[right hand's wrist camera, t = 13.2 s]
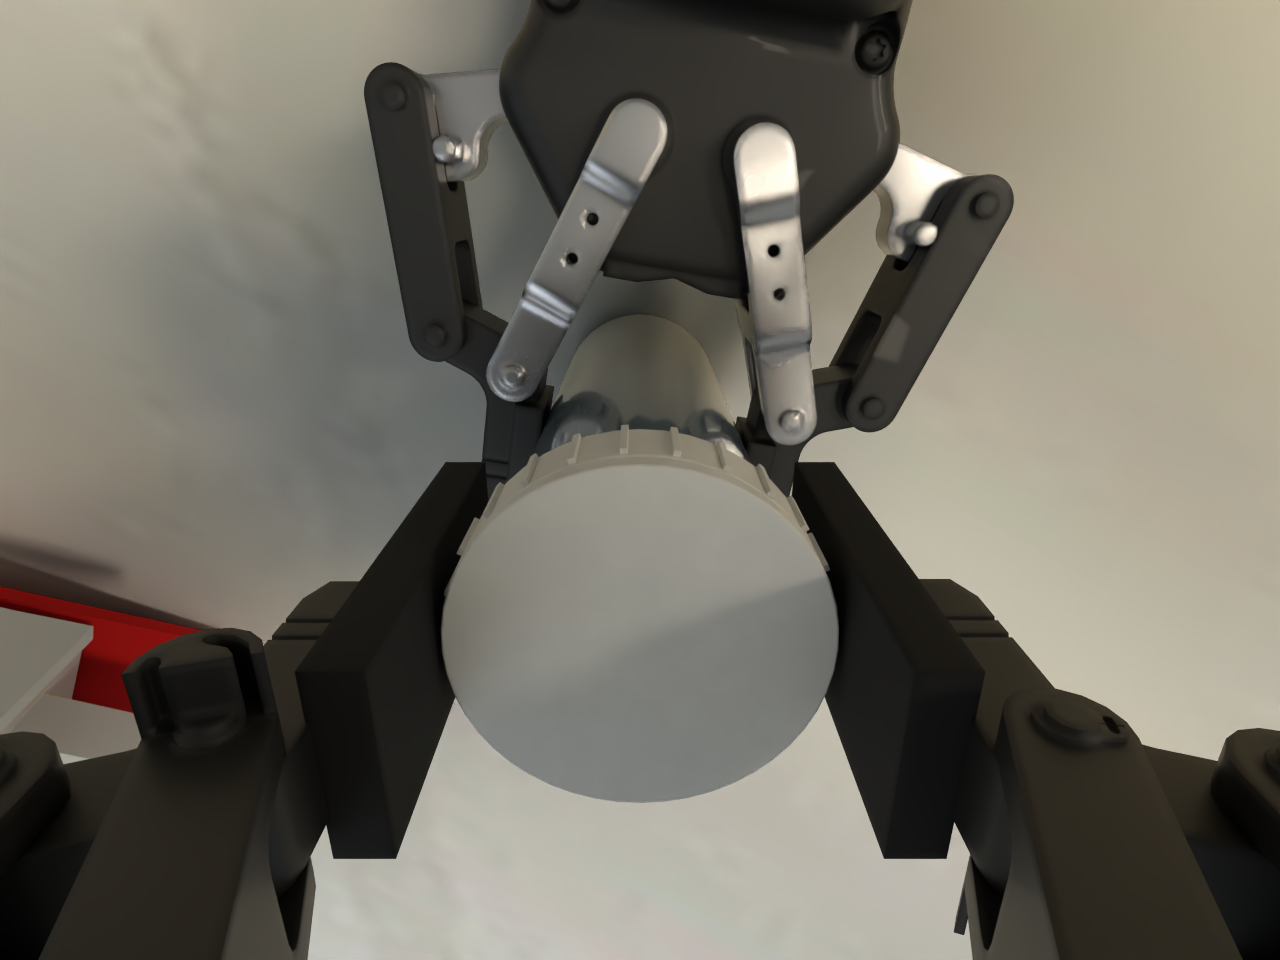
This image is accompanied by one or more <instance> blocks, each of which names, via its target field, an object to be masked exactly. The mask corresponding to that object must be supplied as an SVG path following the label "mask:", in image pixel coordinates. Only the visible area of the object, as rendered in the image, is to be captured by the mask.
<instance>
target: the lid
mask: <svg viewBox="0 0 1280 960" xmlns="http://www.w3.org/2000/svg"><path fill="white" fill-rule="evenodd" d="M808 530H809V528H808V526H807V524H806V522H805V520H804V518H803V516H802V514H801V512H800V510H799V508H798V506H797V504H796V502H795V500H794V498H793V497H792V496H789V497H788V498H786V496H785V495H784V494H783V493H782V492H781V491H780V490H779V489H778V487H777V486H776V485H775V484H774V483H773V482H772V481H771V480H770V479H769V477H768V475H767V473H766V470H765V468H764V467H763V466H762V465H761V464H758V465H757V466H756V467H755V466H754V465H752V464H751V463H749V462H747V461H746V460H744V459H743V458H741V457H740V456H738V455H737V454H735V453H733V452H731V451H729V450H727V449H726V446H725V443H724V442H722V441H720V440H718V441H717V443H716V444H714V443H712V442H709V441H706V440H702V439H699V438H696V437H693V436H690V435H686V434H680V433H679V432H678V428H676V427H671V429H670V432H669V431H664V430H646V429H632V430H629V426H628V425H621V430H618V431H610V432H605V433H600V434H595V435H590V436H586V437H583V438H581V435H580V434H576V435H573V438H572V442H569V443H566V444H563V445H561V446H559V447H557V448H555V449H553V450H551V451H549V452H547V453H545V454H543V455H542V456H540V457H538V455H537V454H536V453H535V454H533V455H532V456H531V457H530V459H529V461H528V464H527V466H525V467H524V468H523V469H521V470H520V471H519V472H518V473H517V474H516V475H515V476H513V477H512V478H511V479H510V480H509V481H508V482H507V483H506V484H505V485H503V484H502V483H501V482H500V483H499V484H498V485H497V486H496V488H495V490H494V492H493V494H492V496H491V498H490V500H489V502H488V504H487V506H486V508H485V510H484V512H483V514H482V516H481V518H480V519H477V518H474V520H473V522H472V524H471V526H470V528H469V530H468V532H467V534H466V536H465V538H464V540H463V541H462V543H461V545H460V547H459V549H458V551H457V554H458V555H460V556H461V558H460V560H459V562H458V564H457V566H456V568H455V570H454V572H453V574H452V577H451V579H450V581H449V583H448V585H447V587H446V589H445V591H444V596H445V601H444V605H443V611H442V621H441V645H442V654H443V659H444V664H445V669H446V673H447V676H448V679H449V682H450V684H451V687H452V690H453V692H454V695H455V697H456V699H457V700H458V702H459V704H460V706H461V708H462V710H463V712H464V713H465V715H466V716H467V718H468V719H469V720H470V722H471V723H472V724H473V726H474V727H475V729H476V730H477V731H478V732H479V733H480V734H481V736H482V737H483V738H484V739H485V740H486V741H487V742H488V743H489V744H490V745H491V746H492V747H493V748H494V749H495V750H496V751H498V752H499V753H500V754H501V755H503V756H504V757H505V758H506V759H507V760H509V761H510V762H511V763H513V764H514V765H516V766H517V767H519V768H521V769H522V770H524V771H525V772H527V773H528V774H530V775H532V776H534V777H536V778H538V779H540V780H542V781H544V782H546V783H548V784H550V785H553V786H556V787H558V788H561V789H564V790H567V791H569V792H572V793H576V794H580V795H584V796H588V797H592V798H596V799H603V800H610V801H617V802H637V803H645V802H662V801H670V800H677V799H683V798H689V797H693V796H696V795H700V794H704V793H708V792H711V791H714V790H716V789H719V788H722V787H724V786H727V785H730V784H732V783H734V782H736V781H738V780H740V779H742V778H744V777H746V776H748V775H750V774H752V773H754V772H755V771H757V770H758V769H760V768H761V767H763V766H764V765H766V764H767V763H769V762H770V761H772V760H773V759H774V758H775V757H776V756H778V755H779V754H780V753H781V752H782V751H783V750H785V749H786V748H787V747H788V746H789V745H790V744H791V743H792V742H793V741H794V740H795V739H796V738H797V737H798V735H799V734H800V733H801V732H802V731H803V730H804V729H805V727H806V726H807V725H808V723H809V722H810V720H811V719H812V717H813V716H814V715H815V713H816V712H817V710H818V708H819V706H820V704H821V702H822V700H823V698H824V696H825V695H826V693H827V690H828V687H829V684H830V681H831V679H832V676H833V673H834V670H835V664H836V659H837V653H838V647H839V621H838V610H837V605H836V601H835V597H834V594H833V590H832V587H831V583H830V580H829V578H828V576H827V574H826V572H827V571H829V570H830V568H829V566H828V563H827V561H826V559H825V557H824V555H823V553H822V551H821V550H820V548H819V546H818V544H817V542H816V540H815V538H814V536H813V534H812V533H809V534H807V532H806V531H808Z"/></svg>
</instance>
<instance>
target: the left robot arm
mask: <svg viewBox="0 0 1280 960" xmlns="http://www.w3.org/2000/svg"><path fill="white" fill-rule="evenodd" d="M911 4H912V0H532V1H531V6H530V9H529V12H528V15H527V18H526V20H525V23H524V25H523V27H522V29H521V31H520V33H519V35H518V36H517V38H516V39H515V41H514V42H513V44H512V45H511V47H510V48H509V50H508V51H507V53H506V55H505V58H504V60H503V63H502V66H501V69H492V70H480V71H467V72H455V73H443V74H430V75H421V74H418V73H417V72H415V71H413V70H411V69H409V68H407V67H405V66H403V65H401V64H398V63H392V62H390V63H384V64H381V65H379V66H377V67H376V68H374V69H373V70H372V71H371V72H370V74H369V75H368V77H367V80H366V82H365V87H364V97H365V103H366V109H367V114H368V119H369V125H370V130H371V135H372V141H373V146H374V151H375V157H376V162H377V167H378V173H379V178H380V184H381V189H382V194H383V200H384V205H385V210H386V216H387V221H388V226H389V232H390V237H391V243H392V248H393V253H394V259H395V264H396V269H397V275H398V280H399V285H400V291H401V296H402V301H403V307H404V312H405V318H406V323H407V328H408V334H409V338H410V342H411V344H412V346H413V348H414V349H415V350H416V352H417V353H418V354H419V355H421V356H422V357H424V358H425V359H428V360H430V361H435V362H442V361H446V362H448V363H449V364H451V365H453V366H455V367H457V368H459V369H461V370H463V371H465V372H466V373H468V374H470V375H471V376H473V377H474V378H475V379H476V380H477V381H478V382H479V383H480V385H481V386H482V388H483V390H484V392H485V395H486V400H487V410H486V421H485V432H484V443H483V454H482V457H483V458H482V462H485V465H486V477H487V489H488V501H489V500H490V498H491V496H492V494H493V492H494V490H495V488H496V486H497V485H498V484H499V483H500V482H501V483H502V484H503V485H505V484H506V483H507V482H508V481H509V480H510V479H511V478H512V477H513V476H515V475H516V474H517V473H518V472H519V471H520V470H521V469H523V468H524V467H525V466H527V464H528V461H529V459H530V457H531V456H532V455H533V453H534V450H535V448H536V445H537V443H538V440H539V438H540V436H541V433H542V431H543V428H544V426H545V423H546V421H547V419H548V416H549V414H550V411H551V406H552V398H553V390H554V386H549V385H546V379H547V371H548V366H549V364H550V362H551V360H552V358H553V356H554V354H555V352H556V351H557V349H558V347H559V345H560V343H561V341H562V339H563V337H564V336H565V334H566V332H567V330H568V328H569V326H570V324H571V322H572V321H573V319H574V317H575V315H576V313H577V311H578V309H579V307H580V305H581V304H582V302H583V300H584V298H585V296H586V294H587V292H588V290H589V289H590V287H591V285H592V283H593V281H594V279H595V277H596V275H597V274H598V272H599V270H601V271H603V272H604V273H603V276H605V277H611V278H617V279H623V280H629V281H635V282H642V281H651V280H661V279H677V280H679V281H681V282H683V283H686V284H688V285H690V286H692V287H694V288H696V289H698V290H700V291H703V292H705V293H707V294H711V295H717V296H723V297H729V298H735V303H736V310H737V317H738V322H739V327H740V330H741V334H742V339H743V345H744V352H745V359H746V366H747V373H748V380H749V387H750V394H751V403H750V407H749V411H748V416H747V418H744V417H737V421H736V427H737V430H738V432H739V435H740V437H741V440H742V442H743V445H744V447H745V449H746V452H747V454H748V457H749V459H750V462H751V464H752V465H754V466H755V467H756V466H757V465H758V464H761V465H762V466H763V467H764V468H765V470H766V473H767V475H768V477H769V479H770V480H771V481H772V482H773V483H774V484H775V485H776V486H777V487H778V489H779V490H780V491H781V492H782V493H783V494H784V495H785V496H786V498H788V497H789V495H790V491H791V487H792V483H793V477H794V465H795V462H798V460H799V456H800V453H801V451H802V449H803V448H804V446H805V445H806V444H807V443H808V442H809V441H810V440H811V439H812V438H813V437H815V436H817V435H819V434H821V433H824V432H828V431H833V430H839V429H845V428H850V427H855V428H856V429H858V430H860V431H863V432H876V431H879V430H882V429H883V428H885V427H887V426H888V425H889V424H890V423H891V422H892V421H893V419H894V418H895V416H896V415H897V413H898V411H899V409H900V407H901V406H902V404H903V402H904V400H905V399H906V397H907V395H908V393H909V392H910V390H911V388H912V386H913V385H914V383H915V381H916V379H917V378H918V376H919V374H920V372H921V371H922V369H923V367H924V365H925V364H926V362H927V360H928V358H929V357H930V355H931V353H932V351H933V350H934V348H935V346H936V344H937V343H938V341H939V339H940V337H941V336H942V334H943V332H944V330H945V329H946V327H947V325H948V323H949V321H950V320H951V318H952V316H953V314H954V313H955V311H956V309H957V307H958V306H959V304H960V302H961V300H962V299H963V297H964V295H965V293H966V292H967V290H968V288H969V286H970V285H971V283H972V281H973V279H974V278H975V276H976V274H977V272H978V271H979V269H980V267H981V265H982V264H983V262H984V260H985V258H986V257H987V255H988V253H989V251H990V250H991V248H992V246H993V244H994V243H995V241H996V239H997V237H998V235H999V234H1000V232H1001V230H1002V228H1003V227H1004V225H1005V223H1006V221H1007V220H1008V218H1009V216H1010V214H1011V211H1012V208H1013V203H1014V197H1013V192H1012V189H1011V187H1010V185H1009V184H1008V182H1007V181H1006V180H1004V179H1003V178H1001V177H999V176H997V175H990V174H988V175H981V174H962V173H960V172H958V171H956V170H954V169H952V168H950V167H948V166H946V165H944V164H942V163H940V162H938V161H935V160H933V159H931V158H929V157H927V156H925V155H923V154H921V153H919V152H917V151H915V150H913V149H911V148H909V147H907V146H905V145H903V144H901V143H899V142H900V126H899V120H898V116H897V112H896V108H895V102H894V90H893V82H894V70H895V64H896V60H897V56H898V52H899V49H900V45H901V42H902V38H903V35H904V31H905V28H906V24H907V20H908V16H909V12H910V8H911ZM507 122H509V123H510V125H511V127H512V129H513V131H514V133H515V135H516V137H517V139H518V141H519V143H520V145H521V147H522V149H523V151H524V153H525V155H526V157H527V159H528V161H529V163H530V164H531V166H532V168H533V170H534V172H535V174H536V176H537V178H538V180H539V182H540V184H541V186H542V188H543V190H544V192H545V194H546V196H547V198H548V200H549V202H550V204H551V206H552V208H553V210H554V212H555V213H556V215H557V217H558V219H559V220H558V222H557V224H556V226H555V228H554V230H553V232H552V234H551V236H550V238H549V240H548V242H547V244H546V246H545V248H544V250H543V252H542V254H541V256H540V258H539V260H538V262H537V264H536V266H535V268H534V270H533V272H532V274H531V276H530V278H529V280H528V282H527V284H526V286H525V288H524V291H523V294H522V297H521V299H520V302H519V304H518V306H517V308H516V310H515V312H514V314H513V316H512V318H511V320H510V322H509V323H508V322H506V321H504V320H502V319H500V318H498V317H497V316H495V315H493V314H491V313H489V312H488V311H486V310H484V309H483V307H482V300H481V293H480V287H479V280H478V273H477V266H476V260H475V253H474V246H473V239H472V232H471V226H470V219H469V212H468V205H467V199H466V192H465V185H464V181H470V180H473V179H475V178H477V177H478V176H479V175H480V174H481V173H482V172H483V170H484V169H485V167H486V164H487V159H488V143H489V140H490V137H491V135H492V133H493V132H494V131H495V130H496V129H497V128H498V127H499V126H500V125H502V124H504V123H507ZM872 190H874V191H875V193H876V194H877V196H878V198H879V200H880V205H881V214H880V219H879V221H878V224H877V228H876V241H877V244H878V246H879V248H880V249H881V250H882V251H883V252H884V253H885V254H887V256H886V258H885V260H884V262H883V263H882V265H881V267H880V269H879V271H878V273H877V275H876V277H875V279H874V281H873V283H872V285H871V286H870V288H869V290H868V292H867V294H866V296H865V298H864V300H863V302H862V304H861V306H860V308H859V309H858V311H857V313H856V315H855V317H854V319H853V321H852V323H851V325H850V327H849V329H848V331H847V333H846V334H845V336H844V338H843V340H842V342H841V344H840V346H839V348H838V350H837V352H836V354H835V356H834V357H833V359H832V361H831V363H830V365H829V367H826V368H820V369H815V370H812V367H811V358H810V343H811V340H812V326H811V316H810V307H809V298H808V289H807V279H806V270H805V261H804V255H805V254H806V253H808V252H809V251H810V250H811V249H812V248H813V247H814V246H815V245H816V244H817V243H818V242H819V241H820V240H821V239H822V238H823V237H824V236H825V235H826V234H827V233H828V232H830V231H831V230H832V229H833V228H834V227H835V226H836V225H837V224H838V223H839V222H840V221H841V220H842V219H843V218H844V217H845V216H846V215H847V214H848V213H849V212H850V211H852V210H853V209H854V208H855V207H856V206H857V205H858V204H859V203H860V202H861V201H862V200H863V199H864V198H865V197H866V196H867V195H868V194H869V193H870V192H871V191H872Z"/></svg>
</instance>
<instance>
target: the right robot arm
mask: <svg viewBox="0 0 1280 960" xmlns="http://www.w3.org/2000/svg"><path fill="white" fill-rule="evenodd" d="M792 497H793V498H794V500H795V502H796V504H797V506H798V508H799V510H800V512H801V514H802V516H803V518H804V520H805V522H806V524H807V526H808V528H809V530H808V531H806V532H807V534H809V533H812V534H813V536H814V538H815V540H816V542H817V544H818V546H819V548H820V550H821V551H822V553H823V555H824V557H825V559H826V561H827V563H828V566H829V568H830V570H829V571H827V572H826V574H827V576H828V578H829V580H830V583H831V587H832V590H833V594H834V597H835V601H836V605H837V610H838V621H839V647H838V653H837V659H836V664H835V670H834V673H833V676H832V679H831V681H830V684H829V687H828V690H827V693H826V695H825V699H826V702H827V704H828V707H829V710H830V713H831V715H832V718H833V721H834V723H835V726H836V729H837V732H838V734H839V737H840V740H841V743H842V745H843V748H844V751H845V753H846V756H847V759H848V762H849V764H850V767H851V770H852V772H853V775H854V778H855V781H856V783H857V786H858V789H859V792H860V794H861V797H862V800H863V802H864V805H865V808H866V811H867V813H868V816H869V819H870V822H871V824H872V827H873V830H874V832H875V835H876V838H877V841H878V843H879V846H880V849H881V852H882V854H883V857H884V859H947V854H948V849H949V844H950V839H951V835H952V830H953V825H954V822H955V824H956V826H957V828H958V830H959V832H960V834H961V836H962V838H963V840H964V842H965V844H966V846H967V848H968V850H969V852H970V857H969V862H968V866H967V871H966V875H965V880H964V884H963V889H962V893H961V897H960V902H959V906H958V911H957V915H956V921H955V928H954V933H958V934H962V935H964V933H965V929H966V924H967V920H968V922H969V930H970V939H971V947H972V956H973V960H1280V731H1275V730H1269V729H1262V728H1255V729H1245V730H1237V731H1236V732H1235V733H1233V734H1232V735H1230V736H1229V737H1228V738H1226V740H1225V743H1224V746H1223V748H1222V751H1221V754H1220V757H1219V759H1218V761H1214V760H1210V759H1205V758H1200V757H1195V756H1190V755H1185V754H1181V753H1176V752H1171V751H1166V750H1161V749H1157V748H1153V747H1149V746H1145V745H1142V744H1141V742H1140V739H1139V738H1138V736H1137V735H1136V734H1135V732H1134V731H1133V730H1132V728H1131V727H1130V726H1129V725H1128V723H1127V722H1126V721H1125V720H1123V719H1122V718H1120V717H1119V716H1118V715H1116V714H1115V713H1114V712H1112V711H1111V710H1110V709H1108V708H1107V707H1105V706H1103V705H1101V704H1099V703H1097V702H1094V701H1092V700H1090V699H1088V698H1086V697H1084V696H1081V695H1078V694H1074V693H1070V692H1066V691H1063V690H1059V689H1055V688H1054V687H1053V686H1052V684H1051V683H1050V682H1049V681H1048V680H1047V679H1046V677H1045V676H1044V675H1043V674H1042V673H1041V671H1040V670H1039V669H1038V668H1037V667H1036V665H1035V664H1034V663H1033V662H1032V661H1031V659H1030V658H1029V657H1028V656H1027V655H1026V653H1025V652H1024V651H1023V650H1022V649H1021V647H1020V646H1019V645H1018V644H1017V643H1016V642H1015V640H1014V639H1013V638H1012V637H1009V636H1008V632H1007V631H1006V630H1005V628H1004V627H1003V626H1002V625H1001V624H1000V622H999V621H998V620H995V619H994V615H993V614H992V613H991V612H990V611H989V609H988V608H987V607H986V606H985V605H984V603H983V602H982V601H981V600H980V599H979V597H978V596H976V595H975V594H973V593H971V592H970V591H968V590H967V589H965V588H963V587H962V586H960V585H959V584H957V583H955V582H954V581H952V580H950V579H918V578H917V576H916V575H915V573H914V572H913V571H912V569H911V568H910V566H909V565H908V564H907V562H906V561H905V560H904V558H903V557H902V555H901V554H900V553H899V551H898V550H897V548H896V547H895V546H894V544H893V543H892V542H891V540H890V539H889V537H888V536H887V535H886V533H885V532H884V530H883V529H882V528H881V526H880V525H879V524H878V522H877V521H876V519H875V518H874V517H873V515H872V514H871V512H870V511H869V510H868V508H867V507H866V506H865V504H864V503H863V501H862V500H861V499H860V497H859V496H858V494H857V493H856V492H855V490H854V489H853V488H852V486H851V485H850V483H849V482H848V481H847V479H846V478H845V476H844V475H843V474H842V472H841V471H840V470H839V468H838V467H837V465H836V464H835V463H834V462H795V465H794V477H793V489H792ZM488 502H489V501H488V489H487V477H486V465H485V462H446V463H445V464H444V465H443V467H442V468H441V470H440V471H439V472H438V474H437V475H436V476H435V478H434V479H433V481H432V482H431V483H430V485H429V486H428V488H427V489H426V490H425V492H424V493H423V494H422V496H421V497H420V499H419V500H418V501H417V503H416V504H415V506H414V507H413V508H412V510H411V511H410V512H409V514H408V515H407V517H406V518H405V519H404V521H403V522H402V524H401V525H400V526H399V528H398V529H397V530H396V532H395V533H394V535H393V536H392V537H391V539H390V540H389V542H388V543H387V544H386V546H385V547H384V548H383V550H382V551H381V553H380V554H379V555H378V557H377V558H376V560H375V561H374V562H373V564H372V565H371V566H370V568H369V569H368V571H367V572H366V573H365V575H364V576H363V578H362V579H361V580H360V581H331V582H329V583H327V584H326V585H324V586H323V587H321V588H319V589H318V590H316V591H314V592H313V593H311V594H310V595H308V596H306V597H305V598H303V599H302V600H301V602H300V603H299V604H298V605H297V606H296V608H295V609H294V610H293V611H292V612H291V614H290V615H289V616H288V617H287V618H286V623H282V624H281V626H280V627H279V628H278V629H277V630H276V632H275V633H274V634H273V635H272V640H268V641H267V642H266V644H265V645H264V646H263V643H262V640H261V639H260V638H259V637H257V636H256V635H255V634H253V633H252V632H250V631H245V630H240V629H235V628H223V629H207V630H203V631H199V632H195V633H190V634H186V635H182V636H179V637H177V638H174V639H172V640H169V641H167V642H164V643H162V644H159V645H157V646H155V647H153V648H152V649H150V650H149V651H147V652H146V653H144V654H142V655H141V656H139V657H138V658H136V659H135V660H134V661H133V662H132V663H131V664H130V665H129V666H128V667H127V668H126V669H125V671H124V672H123V673H122V674H121V676H122V679H123V682H124V685H125V689H126V692H127V695H128V698H129V701H130V705H131V708H132V711H133V714H134V717H135V720H136V724H137V727H138V730H139V733H140V736H141V741H140V743H139V745H138V747H137V748H136V749H132V750H128V751H125V752H120V753H115V754H110V755H105V756H101V757H96V758H91V759H86V760H82V761H77V762H72V763H67V764H63V762H62V759H61V757H60V754H59V751H58V748H57V746H56V743H55V742H54V741H53V740H52V739H50V738H49V737H48V736H46V735H45V734H43V733H34V732H24V731H21V732H14V733H8V734H1V735H0V960H307V958H308V949H309V941H310V932H311V924H312V915H313V906H314V898H315V889H316V884H315V877H314V871H313V866H312V862H311V857H310V856H311V854H312V852H313V850H314V848H315V846H316V844H317V842H318V840H319V838H320V836H321V834H322V832H323V830H324V828H325V826H326V825H327V830H328V835H329V839H330V844H331V849H332V854H333V859H396V857H397V854H398V852H399V849H400V846H401V843H402V841H403V838H404V835H405V832H406V830H407V827H408V824H409V822H410V819H411V816H412V813H413V811H414V808H415V805H416V802H417V800H418V797H419V794H420V792H421V789H422V786H423V783H424V781H425V778H426V775H427V773H428V770H429V767H430V764H431V762H432V759H433V756H434V753H435V751H436V748H437V745H438V743H439V740H440V737H441V734H442V732H443V729H444V726H445V723H446V721H447V718H448V715H449V713H450V710H451V707H452V704H453V702H454V699H455V695H454V692H453V690H452V687H451V684H450V682H449V679H448V676H447V673H446V669H445V664H444V659H443V654H442V645H441V621H442V611H443V605H444V601H445V596H444V591H445V589H446V587H447V585H448V583H449V581H450V579H451V577H452V574H453V572H454V570H455V568H456V566H457V564H458V562H459V560H460V558H461V556H460V555H458V554H457V551H458V549H459V547H460V545H461V543H462V541H463V540H464V538H465V536H466V534H467V532H468V530H469V528H470V526H471V524H472V522H473V520H474V518H477V519H480V518H481V516H482V514H483V512H484V510H485V508H486V506H487V504H488Z"/></svg>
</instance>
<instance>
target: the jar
mask: <svg viewBox="0 0 1280 960" xmlns="http://www.w3.org/2000/svg"><path fill="white" fill-rule="evenodd" d="M621 425H628V426H629V430H632V429H646V430H664V431H669V432H670V429H671V427H676V428H678V432H679V433H680V434H686V435H690V436H693V437H696V438H699V439H702V440H706V441H709V442H712V443H714V444H716V443H717V441H718V440H720V441H722V442H724V443H725V446H726V449H727V450H729V451H731V452H733V453H735V454H737V455H738V456H740V457H741V458H743V459H744V460H746V461H747V462H749V463H751V462H750V459H749V457H748V454H747V452H746V449H745V447H744V445H743V442H742V440H741V437H740V435H739V432H738V430H737V427H736V425H735V423H734V420H733V418H732V415H731V413H730V410H729V408H728V405H727V403H726V401H725V398H724V396H723V393H722V391H721V388H720V386H719V383H718V381H717V379H716V376H715V374H714V371H713V369H712V366H711V364H710V361H709V359H708V357H707V355H706V353H705V351H704V349H703V348H702V346H701V345H700V343H699V342H698V341H697V340H696V339H695V338H694V336H692V335H691V334H690V333H689V332H688V331H687V330H686V329H684V328H683V327H681V326H680V325H678V324H676V323H674V322H672V321H670V320H668V319H665V318H662V317H659V316H653V315H645V314H636V315H627V316H622V317H618V318H616V319H613V320H610V321H608V322H606V323H604V324H602V325H601V326H599V327H598V328H596V329H595V330H594V331H592V332H591V333H590V334H589V335H588V336H587V337H586V338H585V339H584V340H583V342H582V343H581V344H580V346H579V347H578V349H577V350H576V352H575V354H574V356H573V358H572V360H571V363H570V365H569V368H568V370H567V372H566V375H565V377H564V380H563V382H562V385H561V387H560V389H559V392H558V394H557V397H556V399H555V402H554V404H553V406H552V409H551V411H550V414H549V416H548V419H547V421H546V423H545V426H544V428H543V431H542V433H541V436H540V438H539V440H538V443H537V445H536V448H535V450H534V453H533V454H535V453H536V454H537V455H538V457H540V456H542V455H543V454H545V453H547V452H549V451H551V450H553V449H555V448H557V447H559V446H561V445H563V444H566V443H569V442H572V438H573V435H576V434H580V435H581V438H583V437H586V436H590V435H595V434H600V433H605V432H610V431H618V430H621Z"/></svg>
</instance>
